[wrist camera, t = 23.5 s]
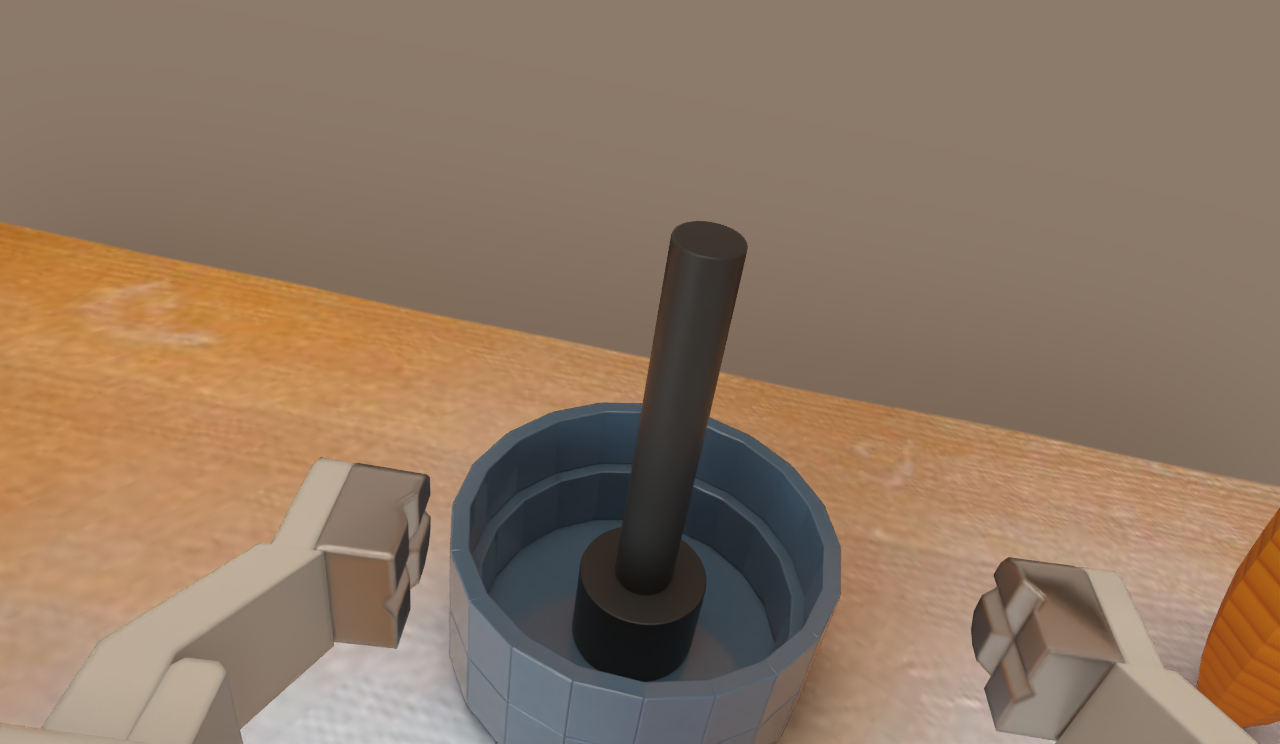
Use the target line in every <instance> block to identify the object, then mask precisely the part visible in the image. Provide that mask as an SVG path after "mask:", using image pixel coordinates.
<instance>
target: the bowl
mask: <svg viewBox="0 0 1280 744" xmlns="http://www.w3.org/2000/svg"><path fill="white" fill-rule="evenodd" d="M642 405H643V403H596V404H591V405H585V406H580V407H575V408H570V409H565V410H560V411H555V412H552V413H549V414H547V415H544V416H542V417H540V418H538V419H536V420H534V421H532V422H529V423H527V424H525V425H523V426H521V427H519V428H517V429H514V430H512V431H510V432H509V433H507V434H506V435H505V436H503V437H502V438H501V439H500V440H499V441H498V442H497V443H496V444H495V445H493V446H492V447H491V448H490V449H489V450H488V451H487V452H486V453H485V454H484V455H482V456H481V457H480V458H479V459H478V460H477V461H476V462H475V463H474V464H473V465H472V467H471V469H470V471H469V473H468V475H467V477H466V478H465V480H464V482H463V484H462V486H461V488H460V490H459V492H458V494H457V496H456V498H455V500H454V502H453V506H452V519H451V539H450V640H449V653H450V659H451V662H452V665H453V668H454V671H455V674H456V676H457V679H458V682H459V685H460V688H461V691H462V694H463V697H464V699H465V702H466V704H467V705H468V707H469V709H470V710H471V711H472V712H473V713H474V715H475V716H476V717H477V718H478V720H479V721H480V722H481V723H482V724H483V726H484V727H485V728H486V729H487V730H488V732H489V733H490V734H491V735H492V737H493V738H494V739H495V740H496V741H497V743H498V744H773V743H775V742H776V741H777V740H778V739H779V737H780V736H781V735H782V733H783V731H784V729H785V727H786V725H787V723H788V720H789V718H790V716H791V714H792V712H793V710H794V707H795V705H796V703H797V701H798V699H799V697H800V695H801V692H802V690H803V687H804V685H805V682H806V680H807V677H808V675H809V672H810V670H811V667H812V665H813V663H814V660H815V658H816V655H817V653H818V650H819V648H820V645H821V643H822V640H823V638H824V635H825V633H826V630H827V628H828V625H829V623H830V621H831V618H832V616H833V613H834V611H835V608H836V606H837V603H838V601H839V598H840V594H841V546H840V544H839V541H838V539H837V536H836V534H835V531H834V528H833V526H832V523H831V521H830V518H829V516H828V513H827V511H826V508H825V506H824V504H823V503H822V501H821V500H820V499H819V498H818V496H817V495H816V494H815V493H814V492H813V490H812V489H811V488H810V487H809V485H808V484H807V483H806V482H805V481H804V479H803V478H802V477H801V476H800V474H799V473H798V472H797V471H796V470H795V468H794V467H792V466H791V464H789V463H788V462H786V461H785V460H784V459H782V458H781V457H780V456H778V455H777V454H775V453H774V452H773V451H771V450H770V449H769V448H767V447H766V446H765V445H763V444H762V443H760V442H759V441H758V440H756V439H755V438H754V437H751V436H750V435H748V434H746V433H744V432H741V431H739V430H737V429H735V428H732V427H730V426H728V425H726V424H723V423H721V422H719V421H716V420H714V419H712V418H710V417H709V420H708V424H707V428H706V433H705V437H704V442H703V446H702V450H701V455H700V459H699V463H698V468H697V472H696V477H695V481H694V485H693V490H692V494H691V498H690V503H689V507H688V512H687V516H686V520H685V525H684V529H683V533H682V538H681V539H682V540H683V541H685V542H686V543H687V544H688V545H689V546H691V547H692V549H693V550H694V551H695V552H696V553H697V555H698V556H699V558H700V559H701V561H702V563H703V566H704V569H705V572H706V578H707V585H706V591H705V595H704V599H703V602H702V606H701V610H700V614H699V617H698V621H697V625H696V629H695V633H694V636H693V640H692V644H691V647H690V650H689V653H688V655H687V657H686V658H685V660H684V661H683V663H682V664H681V665H680V666H679V667H678V668H677V669H675V670H674V671H673V672H671V673H670V674H668V675H666V676H664V677H662V678H659V679H656V680H652V681H646V682H643V681H639V680H634V679H630V678H626V677H622V676H618V675H614V674H610V673H606V672H602V671H598V670H597V669H595V668H594V667H593V666H592V665H590V664H589V663H588V662H587V661H586V660H585V659H584V657H583V656H582V655H581V653H580V652H579V650H578V648H577V646H576V644H575V641H574V638H573V632H572V622H573V615H574V607H575V600H576V592H577V585H578V577H579V570H580V562H581V559H582V556H583V554H584V552H585V550H586V549H587V547H588V546H589V545H590V544H591V542H592V541H593V540H594V539H596V538H597V537H598V536H600V535H601V534H603V533H605V532H607V531H609V530H612V529H615V528H618V527H622V523H623V517H624V511H625V505H626V500H627V494H628V488H629V482H630V476H631V470H632V464H633V458H634V452H635V446H636V440H637V434H638V429H639V423H640V417H641V411H642Z"/></svg>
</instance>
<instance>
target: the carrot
mask: <svg viewBox="0 0 1280 744" xmlns="http://www.w3.org/2000/svg"><path fill="white" fill-rule="evenodd" d="M1197 688H1198V691H1199V692H1201V693H1202V694H1203V695H1204V696H1205V697H1206V698H1207V699H1209V700H1210V701H1211V702H1212V703H1213V704H1214V705H1215V706H1217V707H1218V708H1219V709H1220V710H1221V711H1222V712H1223V713H1225V714H1226V715H1227V716H1228V717H1229V718H1230V719H1231V720H1233V721H1234V722H1235V723H1236V724H1237V725H1238V726H1239V727H1241V728H1245V727H1252V726H1259V725H1266V724H1271V723H1274V722H1278V721H1280V508H1279V510H1278V511H1277V512H1276V514H1275V515H1274V517H1273V518H1272V519H1271V521H1270V522H1269V523H1268V525H1267V526H1266V528H1265V529H1264V530H1263V532H1262V533H1261V535H1260V536H1259V538H1258V539H1257V541H1256V542H1255V544H1254V545H1253V547H1252V548H1251V550H1250V551H1249V553H1248V554H1247V556H1246V557H1245V559H1244V560H1243V562H1242V563H1241V565H1240V566H1239V568H1238V569H1237V571H1236V573H1235V575H1234V578H1233V580H1232V582H1231V584H1230V586H1229V588H1228V590H1227V592H1226V594H1225V597H1224V599H1223V601H1222V603H1221V605H1220V608H1219V610H1218V613H1217V615H1216V618H1215V620H1214V623H1213V625H1212V628H1211V630H1210V633H1209V635H1208V639H1207V642H1206V645H1205V648H1204V652H1203V655H1202V659H1201V665H1200V671H1199V677H1198V683H1197Z"/></svg>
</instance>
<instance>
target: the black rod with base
mask: <svg viewBox="0 0 1280 744" xmlns="http://www.w3.org/2000/svg"><path fill="white" fill-rule="evenodd" d="M747 249H748V246H747V242H746V240H745V238H744V237H743V236H742V235H741V234H740V233H738V232H737V231H735V230H733V229H731V228H729V227H727V226H724V225H721V224H717V223H712V222H706V221H692V222H686V223H683V224H681V225H679V226H677V227H676V228H675V229H674V230H673V232H672V234H671V240H670V246H669V251H668V257H667V263H666V269H665V275H664V281H663V287H662V293H661V299H660V304H659V310H658V316H657V322H656V328H655V334H654V340H653V346H652V352H651V358H650V364H649V369H648V375H647V381H646V387H645V393H644V399H643V405H642V411H641V417H640V423H639V429H638V434H637V440H636V446H635V452H634V458H633V464H632V470H631V476H630V482H629V488H628V494H627V500H626V505H625V511H624V517H623V523H622V527H618V528H615V529H612V530H609V531H607V532H605V533H603V534H601V535H600V536H598V537H597V538H596V539H594V540H593V541H592V542H591V544H590V545H589V546H588V547H587V549H586V550H585V552H584V554H583V556H582V559H581V562H580V570H579V577H578V585H577V592H576V600H575V607H574V615H573V622H572V632H573V638H574V641H575V644H576V646H577V648H578V650H579V652H580V653H581V655H582V656H583V657H584V659H585V660H586V661H587V662H588V663H589V664H590V665H592V666H593V667H594V668H595V669H597V670H598V671H602V672H606V673H610V674H614V675H618V676H622V677H626V678H630V679H634V680H639V681H643V682H646V681H652V680H656V679H659V678H662V677H664V676H666V675H668V674H670V673H671V672H673V671H674V670H675V669H677V668H678V667H679V666H680V665H681V664H682V663H683V661H684V660H685V658H686V657H687V655H688V653H689V650H690V647H691V644H692V640H693V636H694V633H695V629H696V625H697V621H698V617H699V614H700V610H701V606H702V602H703V599H704V595H705V591H706V585H707V578H706V572H705V569H704V566H703V563H702V561H701V559H700V558H699V556H698V555H697V553H696V552H695V551H694V550H693V549H692V547H691V546H689V545H688V544H687V543H686V542H685V541H683V540H682V539H681V538H682V533H683V529H684V525H685V520H686V516H687V512H688V507H689V503H690V498H691V494H692V490H693V485H694V481H695V477H696V472H697V468H698V463H699V459H700V455H701V450H702V446H703V442H704V437H705V433H706V428H707V424H708V420H709V415H710V411H711V407H712V402H713V398H714V393H715V389H716V385H717V380H718V376H719V372H720V367H721V363H722V358H723V354H724V349H725V345H726V341H727V336H728V332H729V327H730V323H731V319H732V315H733V310H734V306H735V302H736V297H737V293H738V288H739V284H740V280H741V275H742V271H743V266H744V262H745V258H746V253H747Z"/></svg>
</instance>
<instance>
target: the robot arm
mask: <svg viewBox="0 0 1280 744" xmlns="http://www.w3.org/2000/svg"><path fill="white" fill-rule="evenodd" d="M429 497H430V477H429V476H428V475H427V474H421V473H415V472H409V471H403V470H397V469H391V468H385V467H379V466H373V465H367V464H361V463H351V462H345V461H339V460H333V459H327V458H319V459H318V460H317V461H316V462H315V463H314V464H313V465H312V467H311V468H310V470H309V472H308V474H307V476H306V478H305V480H304V482H303V484H302V486H301V488H300V489H299V491H298V493H297V495H296V497H295V499H294V501H293V503H292V505H291V507H290V508H289V510H288V512H287V514H286V516H285V518H284V520H283V522H282V524H281V526H280V527H279V529H278V531H277V533H276V535H275V537H274V539H273V541H272V543H271V544H267V543H259V544H257V545H255V546H254V547H252V548H250V549H249V550H247V551H246V552H244V553H242V554H241V555H239V556H237V557H236V558H234V559H233V560H231V561H229V562H228V563H226V564H224V565H223V566H221V567H219V568H218V569H216V570H215V571H213V572H211V573H210V574H208V575H206V576H205V577H203V578H202V579H200V580H198V581H197V582H195V583H193V584H192V585H190V586H188V587H187V588H185V589H184V590H182V591H180V592H179V593H177V594H175V595H174V596H172V597H171V598H169V599H167V600H166V601H164V602H162V603H161V604H159V605H157V606H156V607H154V608H153V609H151V610H149V611H148V612H146V613H144V614H143V615H141V616H140V617H138V618H136V619H135V620H133V621H131V622H130V623H128V624H126V625H125V626H123V627H122V628H120V629H118V630H117V631H115V632H113V633H112V634H110V635H108V636H107V637H105V638H104V639H102V640H100V641H99V642H98V643H97V644H96V646H95V647H94V649H93V650H92V652H91V653H90V655H89V656H88V658H87V660H86V661H85V663H84V664H83V666H82V667H81V669H80V670H79V672H78V673H77V675H76V676H75V678H74V679H73V681H72V682H71V684H70V685H69V687H68V688H67V690H66V691H65V693H64V695H63V696H62V698H61V699H60V701H59V702H58V704H57V705H56V707H55V708H54V710H53V711H52V713H51V714H50V716H49V717H48V719H47V720H46V722H45V723H44V725H43V726H42V728H41V729H40V728H32V727H25V726H17V725H10V724H2V723H0V744H243V741H242V737H241V733H240V729H241V728H242V727H243V726H244V725H245V724H247V723H248V722H249V721H250V720H251V719H252V718H253V717H254V716H255V715H257V714H258V713H259V712H260V711H261V710H262V709H263V708H264V707H266V706H267V705H268V704H269V703H270V702H271V701H272V700H273V699H275V698H276V697H277V696H278V695H279V694H280V693H281V692H282V691H284V690H285V689H286V688H287V687H288V686H289V685H290V684H291V683H292V682H294V681H295V680H296V679H297V678H298V677H299V676H300V675H301V674H303V673H304V672H305V671H306V670H307V669H308V668H309V667H310V666H312V665H313V664H314V663H315V662H316V661H317V660H318V659H319V658H320V657H322V656H323V655H324V654H325V653H326V652H327V651H328V650H329V649H331V648H332V647H333V646H334V642H341V643H350V644H359V645H368V646H377V647H386V648H395V649H397V647H398V644H399V641H400V638H401V635H402V632H403V629H404V626H405V623H406V620H407V617H408V614H409V611H410V589H411V588H412V587H414V586H415V585H416V584H418V583H419V581H420V578H421V575H422V572H423V568H424V565H425V560H426V556H427V551H428V546H429V538H430V516H429V515H428V514H427V512H426V511H425V508H426V506H427V503H428V500H429ZM994 578H995V581H996V584H997V587H996V588H995V589H993V590H991V591H989V592H987V593H985V594H984V595H982V596H981V598H980V600H979V602H978V604H977V606H976V608H975V610H974V615H973V621H972V628H971V634H972V645H973V649H974V653H975V657H976V661H977V662H978V663H979V664H980V665H981V666H982V667H983V668H984V669H985V670H986V671H987V672H988V673H989V674H990V675H991V677H990V679H989V681H988V682H987V684H986V686H985V688H984V690H985V693H986V697H987V700H988V704H989V707H990V711H991V714H992V718H993V721H994V725H995V728H996V731H999V732H1005V733H1011V734H1017V735H1024V736H1030V737H1036V738H1042V739H1048V740H1054V741H1057V742H1056V743H1055V744H1259V743H1258V742H1257V741H1255V740H1254V739H1253V738H1252V737H1251V736H1250V735H1249V734H1247V733H1246V732H1245V731H1244V730H1243V729H1242V728H1241V727H1239V726H1238V725H1237V724H1236V723H1235V722H1234V721H1233V720H1231V719H1230V718H1229V717H1228V716H1227V715H1226V714H1225V713H1223V712H1222V711H1221V710H1220V709H1219V708H1218V707H1217V706H1215V705H1214V704H1213V703H1212V702H1211V701H1210V700H1209V699H1207V698H1206V697H1205V696H1204V695H1203V694H1202V693H1201V692H1199V691H1198V690H1197V689H1196V688H1195V687H1194V686H1193V685H1191V684H1190V683H1189V682H1188V681H1187V680H1186V679H1185V678H1183V677H1182V676H1181V675H1180V674H1179V673H1178V672H1177V671H1172V670H1166V669H1165V667H1164V665H1163V663H1162V661H1161V659H1160V657H1159V655H1158V653H1157V650H1156V648H1155V646H1154V644H1153V642H1152V640H1151V638H1150V636H1149V634H1148V632H1147V629H1146V627H1145V625H1144V623H1143V621H1142V619H1141V617H1140V615H1139V613H1138V611H1137V608H1136V606H1135V604H1134V602H1133V600H1132V598H1131V596H1130V594H1129V592H1128V590H1127V588H1126V585H1125V583H1124V581H1123V579H1122V578H1121V577H1120V576H1119V575H1118V574H1117V573H1116V572H1115V571H1107V570H1100V569H1092V568H1085V567H1075V566H1070V565H1062V564H1055V563H1047V562H1040V561H1032V560H1025V559H1017V558H1009V557H1008V558H1007V559H1005V560H1004V561H1003V562H1001V563H1000V565H999V566H998V568H997V570H996V571H995V573H994Z"/></svg>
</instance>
